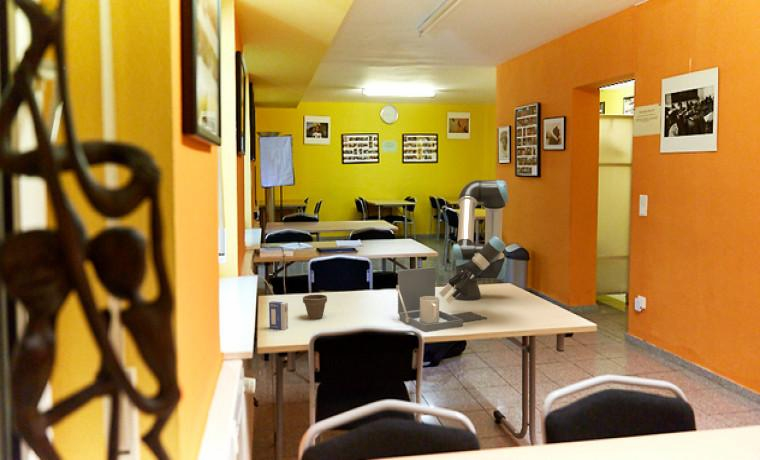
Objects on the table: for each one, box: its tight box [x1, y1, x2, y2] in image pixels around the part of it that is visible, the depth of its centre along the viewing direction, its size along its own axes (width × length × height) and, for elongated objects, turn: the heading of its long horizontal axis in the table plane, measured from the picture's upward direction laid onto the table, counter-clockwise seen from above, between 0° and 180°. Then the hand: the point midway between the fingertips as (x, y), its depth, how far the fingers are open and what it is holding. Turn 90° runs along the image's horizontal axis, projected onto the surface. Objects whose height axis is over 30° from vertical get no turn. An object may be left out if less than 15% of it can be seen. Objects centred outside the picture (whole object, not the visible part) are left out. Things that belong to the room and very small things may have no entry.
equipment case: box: [395, 266, 464, 333], centre depth 267 cm, size 24×21×23 cm
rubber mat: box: [450, 311, 488, 324], centre depth 277 cm, size 13×15×1 cm
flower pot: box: [302, 294, 328, 320], centre depth 277 cm, size 12×11×10 cm
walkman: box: [268, 300, 289, 331], centre depth 259 cm, size 8×3×12 cm, turn 70°
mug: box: [419, 296, 440, 324], centre depth 267 cm, size 12×9×11 cm
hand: (443, 298), depth 267 cm, fingers open, 13 cm apart
